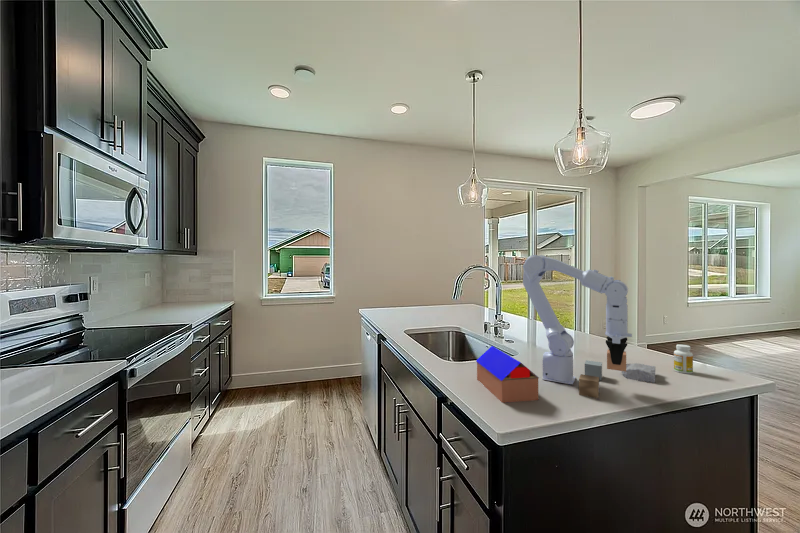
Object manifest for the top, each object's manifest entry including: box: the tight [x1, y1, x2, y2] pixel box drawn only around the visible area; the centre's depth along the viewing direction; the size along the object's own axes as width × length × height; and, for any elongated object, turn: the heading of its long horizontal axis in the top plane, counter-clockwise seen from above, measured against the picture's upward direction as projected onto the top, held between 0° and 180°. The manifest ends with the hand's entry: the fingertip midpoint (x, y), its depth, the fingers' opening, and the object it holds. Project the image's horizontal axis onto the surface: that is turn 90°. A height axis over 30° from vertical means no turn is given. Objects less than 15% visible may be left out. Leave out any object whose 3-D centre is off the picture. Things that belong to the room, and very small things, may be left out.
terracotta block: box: [606, 349, 627, 372], centre depth 105 cm, size 5×5×5 cm
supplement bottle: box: [673, 343, 694, 374], centre depth 122 cm, size 5×5×10 cm
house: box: [475, 345, 540, 403], centre depth 107 cm, size 12×20×12 cm, turn 8°
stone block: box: [621, 362, 656, 384], centre depth 118 cm, size 12×5×10 cm
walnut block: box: [578, 374, 600, 399], centre depth 102 cm, size 5×5×5 cm
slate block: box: [584, 359, 603, 381], centre depth 117 cm, size 5×5×5 cm
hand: (616, 361), depth 105 cm, fingers closed on terracotta block, 5 cm apart
